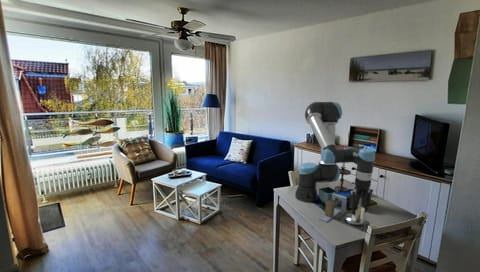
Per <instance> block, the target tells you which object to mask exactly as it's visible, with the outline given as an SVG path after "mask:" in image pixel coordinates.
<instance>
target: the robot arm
mask: <svg viewBox="0 0 480 272" xmlns="http://www.w3.org/2000/svg"><path fill="white" fill-rule="evenodd" d="M342 115H343V109H342V106H341V104H339V103H338V102H336V101H314V102H312V103H310V104H309V105H307V107H306V108H305V113H304V118H305V121H306V123H307V124H309V126H310V127H311V129H312V132H313V134H314V136H315V137H316V140H317V142H318V144H319V147H320V160H319V161H318V162H317V163H315V162H305V163H302V164H300V166H299V170H298V183H297V184H298V186H297V187H296V188H297V189H296V191H295V193H294V194H295V195H294V197H295V198H296V199H297V200H299V201H300V202H301V201H302V202H305V203H307V202H308V203H313V202H316V201H318V200H319V192H318V189H317V183H318V184H321V183H333V182H334V183H335V182H336V181H338V180H339V178H340V176H341V174H340V169H341V168H340V166H339V165H338V164H342V163H345V164H346V163H352V164H355V165H356V171H355V178H354V179H355V180H354V185H355V186H354V189H353V190H352V189H350V191H349V193H350V194H349V195H350V196H349V205H348V207H349V208H350V209H351V214H352V220H354V221H356V220H357V213H358V210H357V207H358V204H359V201H360V198H361V206H362V208H361V218H360V219H361V220H363V219H365V213H366V210H368V208H369V207H370V205H371V204H370V203H371V199H372V195H373V192H374V190H373V189H372V188H371V185H372V178H373V171H374V166H375V161H376V152H375V150H373V149H369V148H360V149H357V148H356V147H352V146H348V147H345V149H344V148H337V146H336V143H335V142H336V125H337V124H338V122H339V120H340V119H341V118H342V117H343V116H342Z"/></svg>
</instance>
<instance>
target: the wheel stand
mask: <svg viewBox="0 0 480 272" xmlns="http://www.w3.org/2000/svg"><path fill="white" fill-rule="evenodd" d="M339 222H340V224H343V225H346V226H348V227H352V228H354V229H357V230H359V231H362V230H363V229H364V228H365V226H367V225H368V223H369V221H368V220H366V219H365V223H364V224H363V225H353V224H350V223H348V222H347V221H346V220H345V217H343V218H342V219H341V220H340V221H339Z"/></svg>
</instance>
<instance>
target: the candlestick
mask: <svg viewBox="0 0 480 272" xmlns="http://www.w3.org/2000/svg"><path fill="white" fill-rule="evenodd" d="M343 147H344V148H343V149H346V148H347V143H345V145H344V146H343ZM345 165H346V163H341V166H339V169H340V176H341V177H340V179H339V180H340V181H339V183H340V185H336V186H334V190H336V191H338V193H347V192H349V189H348V187H345V186H343V185H344V181H345V179H344V176H349V175H351V174H352V171H351V170H349V169H346V168H347V167H345Z"/></svg>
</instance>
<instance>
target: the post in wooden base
mask: <svg viewBox="0 0 480 272" xmlns="http://www.w3.org/2000/svg"><path fill="white" fill-rule="evenodd" d="M341 204H342V200H341V199H337V200H336V202H335V200H332V199H327V200H326V204H325V209H324V215H327V216H329V217H332V216H333V215H334V208H335V207H337V206H338V207H339V205H341Z"/></svg>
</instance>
